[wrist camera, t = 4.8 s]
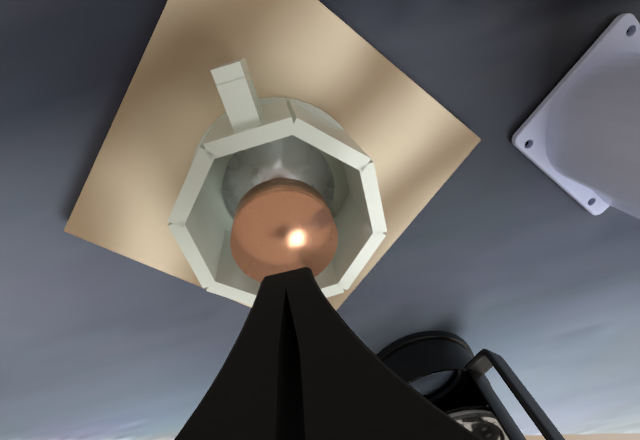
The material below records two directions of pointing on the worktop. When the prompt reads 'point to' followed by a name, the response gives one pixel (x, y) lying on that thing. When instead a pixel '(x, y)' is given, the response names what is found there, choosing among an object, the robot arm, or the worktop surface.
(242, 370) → the robot arm
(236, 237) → the plunger
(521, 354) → the worktop surface
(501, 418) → the french press
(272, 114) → the faceted mug
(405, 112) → the serving board
